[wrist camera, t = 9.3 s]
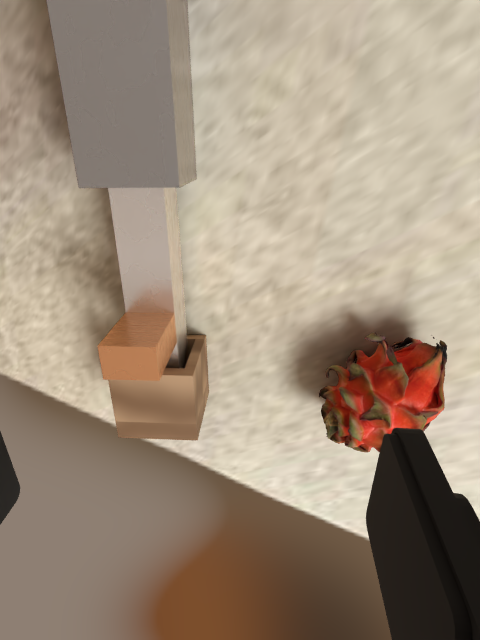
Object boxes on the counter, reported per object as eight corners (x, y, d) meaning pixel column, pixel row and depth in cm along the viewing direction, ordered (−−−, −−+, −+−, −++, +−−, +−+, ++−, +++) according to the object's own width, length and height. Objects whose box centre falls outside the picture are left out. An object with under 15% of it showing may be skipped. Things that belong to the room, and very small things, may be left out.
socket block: (134, 333, 35) (107, 373, 29) (205, 335, 34) (193, 376, 28) (142, 389, 37) (118, 437, 31) (208, 391, 37) (197, 440, 31)
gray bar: (116, 101, 26) (49, 82, 18) (169, 100, 26) (125, 80, 18) (149, 370, 35) (114, 438, 27) (189, 371, 34) (166, 440, 26)
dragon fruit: (306, 396, 38) (403, 313, 36) (367, 471, 35) (477, 386, 33) (282, 400, 30) (404, 295, 28) (358, 497, 27) (502, 388, 25)
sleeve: (79, -84, 23) (19, -158, 17) (182, -89, 23) (154, -166, 17) (115, 179, 29) (78, 187, 24) (196, 179, 29) (179, 187, 23)
